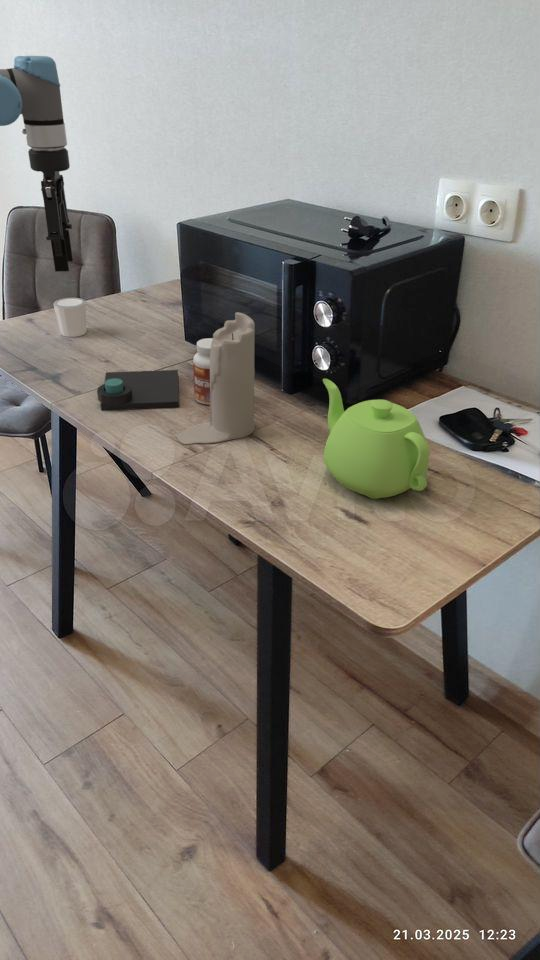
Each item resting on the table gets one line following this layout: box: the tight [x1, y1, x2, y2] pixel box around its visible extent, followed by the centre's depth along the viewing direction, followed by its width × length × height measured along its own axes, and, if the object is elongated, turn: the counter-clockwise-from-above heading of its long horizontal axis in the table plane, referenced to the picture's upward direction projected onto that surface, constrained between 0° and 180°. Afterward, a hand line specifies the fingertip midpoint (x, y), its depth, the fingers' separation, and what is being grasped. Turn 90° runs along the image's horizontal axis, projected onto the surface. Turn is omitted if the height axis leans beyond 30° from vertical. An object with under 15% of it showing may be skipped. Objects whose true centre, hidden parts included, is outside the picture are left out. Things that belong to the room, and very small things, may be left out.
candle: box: [173, 311, 256, 445], centre depth 115 cm, size 7×14×20 cm, turn 115°
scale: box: [96, 369, 180, 411], centre depth 132 cm, size 14×14×3 cm
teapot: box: [322, 378, 431, 500], centre depth 107 cm, size 22×15×13 cm
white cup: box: [52, 297, 87, 338], centre depth 156 cm, size 7×7×7 cm
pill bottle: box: [192, 337, 213, 406], centre depth 129 cm, size 6×6×11 cm
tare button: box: [104, 378, 124, 394], centre depth 127 cm, size 3×3×2 cm
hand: (64, 265), depth 150 cm, fingers open, 7 cm apart
